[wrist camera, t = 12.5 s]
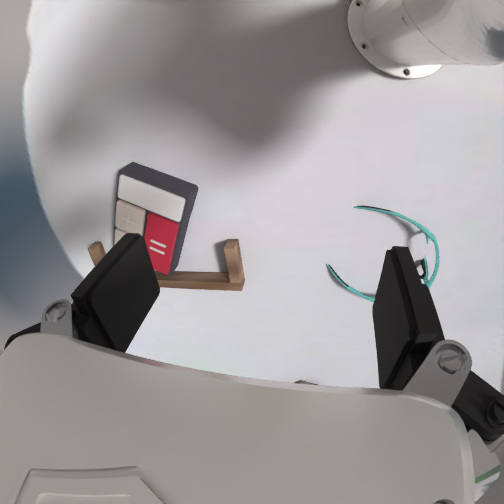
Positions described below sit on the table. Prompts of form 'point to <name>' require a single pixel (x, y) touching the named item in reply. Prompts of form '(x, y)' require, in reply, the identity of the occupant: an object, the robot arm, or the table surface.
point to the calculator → (154, 212)
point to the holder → (196, 279)
